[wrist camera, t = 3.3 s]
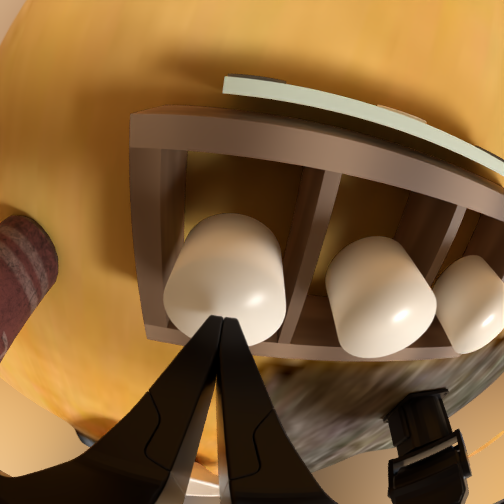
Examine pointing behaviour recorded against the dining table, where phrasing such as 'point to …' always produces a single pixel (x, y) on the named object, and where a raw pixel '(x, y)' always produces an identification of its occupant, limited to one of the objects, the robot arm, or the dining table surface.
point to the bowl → (202, 482)
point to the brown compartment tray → (300, 214)
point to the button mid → (378, 298)
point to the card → (358, 113)
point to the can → (23, 274)
